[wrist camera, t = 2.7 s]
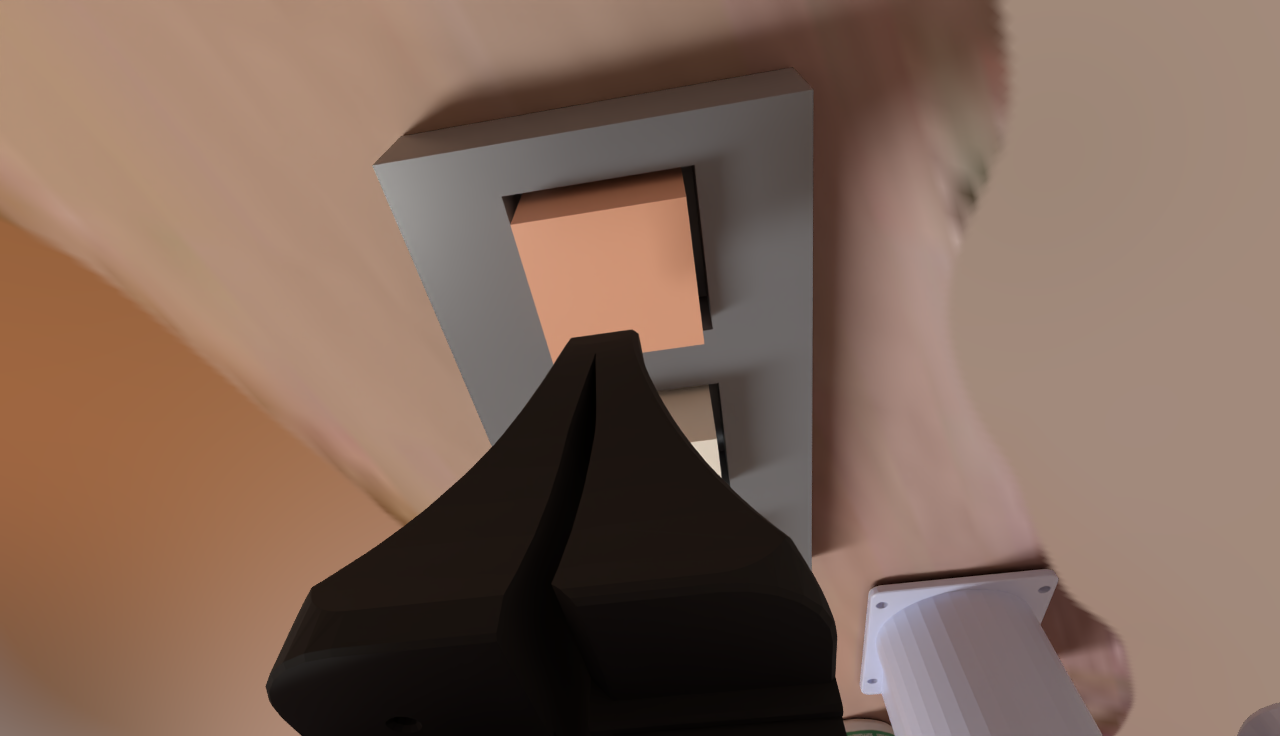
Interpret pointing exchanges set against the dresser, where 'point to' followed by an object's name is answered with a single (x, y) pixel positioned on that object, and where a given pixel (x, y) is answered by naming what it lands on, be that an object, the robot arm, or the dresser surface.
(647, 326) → the terracotta key
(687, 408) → the cream key
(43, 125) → the dresser surface
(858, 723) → the supplement bottle
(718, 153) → the grey flat frame
